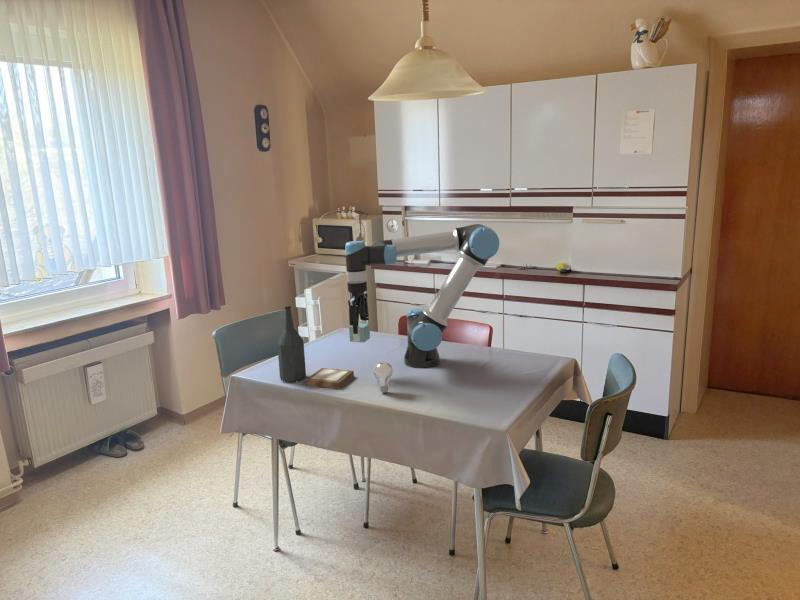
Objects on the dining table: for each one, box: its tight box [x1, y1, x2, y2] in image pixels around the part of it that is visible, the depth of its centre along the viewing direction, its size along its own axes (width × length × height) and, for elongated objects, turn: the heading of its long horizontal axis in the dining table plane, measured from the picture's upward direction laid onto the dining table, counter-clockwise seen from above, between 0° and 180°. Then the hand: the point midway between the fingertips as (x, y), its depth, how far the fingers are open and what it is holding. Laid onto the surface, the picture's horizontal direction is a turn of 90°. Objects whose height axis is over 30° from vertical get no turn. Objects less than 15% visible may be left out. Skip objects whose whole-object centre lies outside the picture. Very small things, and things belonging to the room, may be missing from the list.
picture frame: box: [305, 367, 355, 390], centre depth 240 cm, size 14×14×3 cm
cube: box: [348, 322, 371, 343], centre depth 240 cm, size 6×6×6 cm
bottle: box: [276, 304, 307, 383], centre depth 241 cm, size 10×10×30 cm
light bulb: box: [373, 361, 394, 394], centre depth 225 cm, size 7×7×12 cm
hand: (360, 338), depth 241 cm, fingers closed on cube, 6 cm apart
